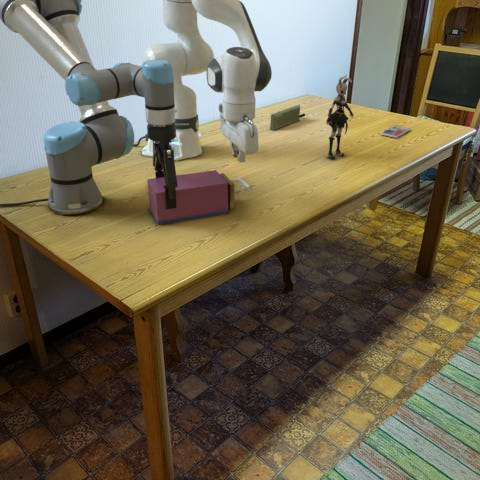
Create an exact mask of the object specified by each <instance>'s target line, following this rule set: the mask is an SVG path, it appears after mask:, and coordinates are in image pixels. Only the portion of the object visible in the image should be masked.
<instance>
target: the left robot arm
mask: <svg viewBox="0 0 480 480" xmlns="http://www.w3.org/2000/svg"><path fill="white" fill-rule="evenodd" d="M82 10H83V5H82V0H0V21H1V22H2V23H3V24H4V25H5V26H6V28H7V29H8V30H10V31H11V32H12V33H15V34H19V35H20V36H21V38H22V39H24V41H26V42H27V44H29V45H30V47H31V48H32V49H34V51H35V52H36V53H37V54H38V55H39V56H40V57H41V58H42V59H43V60H44V61H45V62H46V63H47V64H48V65H49V66H50V67H51V69H53V70H54V71H55V72H56V73H57V74H58V75H59V76H60V77H61V78H62V79H63V80H64V81H65V83H64V88H65V92H66V96H68V99H69V101H70V102H71V103H72V104H73V105H75V106H77V107H78V109H79V112H80V114H81V115H80V118H79V121H69V122H60V123H58V124H55V125H53V126H51V127H49V128H48V129H46V131H45V133H44V134H43V145H44V146H43V148H44V149H43V150H44V152H45V157H46V162H47V167H48V173H49V178H50V189H49V193H48V197H47V198H40V199H34V200H28V201H22V202H12V203H11V202H9V203H0V207H14V206H23V205H29V204H34V203H35V204H36V203H41V202H47V201H48V207H49V210H50V211H51V212H52V213H54V214H57V215H62V216H75V215H76V216H77V215H84V214H87V213H90V212H93V211H96V210H97V209H99V208H100V207H101V206H102V205H103V203H104V202H103V195H102V193H101V191H100V188H99V186H98V184H97V183H96V180H95V179H94V176H93V168H92V167H93V166H96V165H100V164H103V163H107V162H110V161H112V160H116V159H119V158H122V157H123V156H124V157H125V156H126V155H129V154H130V153H131V151H132V150H133V148H134V146H133V144H135V130H134V127H133V125H132V123H131V121H130V120H129V119H128V118H127V117H125V116H123V115H120V114H119V112H118V110H117V108H116V107H114V106H111V105H110V103H109V101H111V100H117V99H121V98H125V97H131V96H137V97H141V98H144V103H145V104H144V106H145V107H144V109H145V110H144V111H145V121H146V131H147V133H148V138H149V139H150V140H153V157H152V167H153V168H154V174H155V178H160V177H164V178H165V184H166V186H163V188H165V198H166V209H173V208H176V190H175V187H178V184H177V178H176V175H177V171H176V170H177V169H176V163H175V162H176V161H175V160H174V151H173V150H172V147H171V145H170V144H169V141H170V140H173V139H174V138H175V137H176V124H175V123H174V122H175V113H176V112H177V110H176V109H175V104H174V77H173V70H172V65H171V63H170V62H168V61H165V60H148V61H145V62H144V63H143V62H142V64H141V65H138V64H134V63H131V62H119V63H116V64H115V65H114V66H113V67H109V68H103V69H96V68H95V66H94V63H93V60H92V59H91V56H90V54H89V51H88V49H87V46H86V44H85V41H84V38H83V36H82V34H81V30H80V29H79V24H80V21H81V16H80V15H81V13H82ZM147 133H146V134H147Z"/></svg>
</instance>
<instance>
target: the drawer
mask: <svg viewBox="0 0 480 480" xmlns="http://www.w3.org/2000/svg"><path fill="white" fill-rule="evenodd" d="M219 174H220V175H221V176H222V177H223V178H224V179H225V180H226V182H227V183H228V208H229V209H235V192H240V191H246V190H247V191H248V192H250V191H251V190H252V186H251V184H249V183H248V182H247V181H246V180H245V179H244V178H243V177H238V179H237V178H236V179H230V178H229V177H228V176H227V175H226V174H225V173H223V172H222V173H219ZM238 182H239V183H240V185H241V186H242V187H238V188H237V187H236V188H235V183H238Z"/></svg>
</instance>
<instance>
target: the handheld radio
mask: <svg viewBox="0 0 480 480" xmlns="http://www.w3.org/2000/svg"><path fill="white" fill-rule="evenodd" d="M305 116H306V113H301V105H300V104H296V105H294V106H291V107H288V108H285V109H283V110H280V111H277V112H273V113H271V114H270V123H269V124H270V126H269V130H271V131H275V130H276V131H277V130H279V129H280V128H281V129H282V128H283V127H286V126H289V125H291V124H294V123H296V122H298V121H300V118H303V117H305Z"/></svg>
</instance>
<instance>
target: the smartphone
mask: <svg viewBox="0 0 480 480" xmlns="http://www.w3.org/2000/svg"><path fill="white" fill-rule="evenodd" d="M410 131H411V128H410V127H406V126H402V125H398V124H397V125H396V124H395V125H393V126H391V127H389V128H387V129H386V130H384V131H382V132H381V133H380V134H381V136H386V137H389V138H394V139H398V138H400V137H401V136H403V135H404V134H406V133H408V132H410Z"/></svg>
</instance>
